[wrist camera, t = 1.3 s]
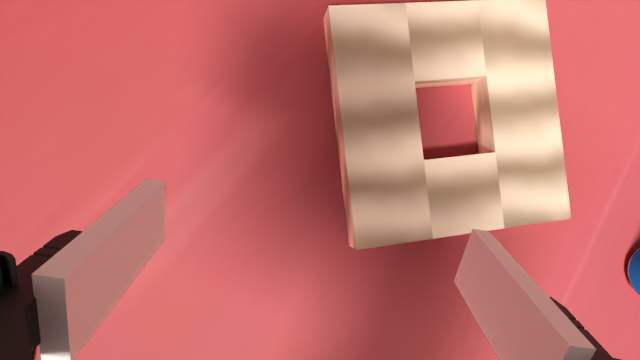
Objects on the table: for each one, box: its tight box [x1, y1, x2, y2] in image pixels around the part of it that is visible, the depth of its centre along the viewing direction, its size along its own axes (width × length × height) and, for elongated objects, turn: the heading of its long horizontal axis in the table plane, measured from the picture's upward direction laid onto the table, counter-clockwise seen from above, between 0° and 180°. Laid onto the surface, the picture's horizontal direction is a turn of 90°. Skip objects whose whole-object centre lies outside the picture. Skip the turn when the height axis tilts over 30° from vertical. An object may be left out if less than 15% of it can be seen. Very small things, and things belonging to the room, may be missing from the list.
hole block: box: [323, 0, 571, 250], centre depth 40 cm, size 24×24×3 cm
